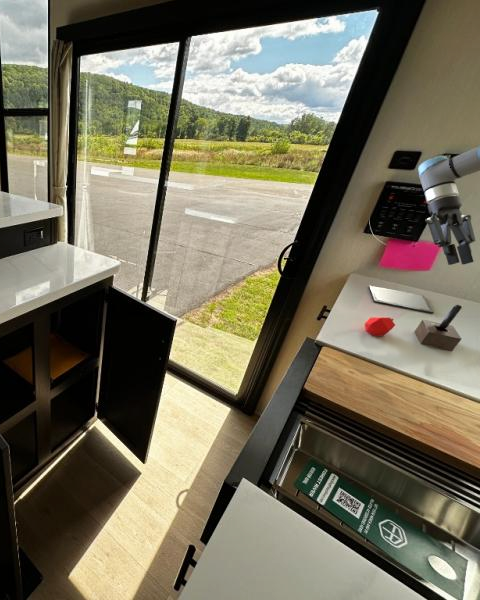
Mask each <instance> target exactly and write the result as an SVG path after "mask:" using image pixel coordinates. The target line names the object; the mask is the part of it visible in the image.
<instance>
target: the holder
mask: <svg viewBox="0 0 480 600" xmlns="http://www.w3.org/2000/svg"><path fill="white" fill-rule="evenodd" d="M441 323H442V322H437V321H431V320H427V319H421V321H420V323H419V324H418V325H417V326H416V329H414V334H415V336H416V338H417V339H418V343H419V344H420V345H424V346H428V347H431V348H436V349H440V350H445V351H449V352H453V351H454V349H455V348H456V347H457V345H458V344H459V343H460V342H461V340H462V337H461V335H460V334H459V332H458V331H457V329H456V328H455V326H454V325H451V324H449V325H448V327H447V328H446V329H445V331H439V330H437V328H438V327H439V326H440V324H441Z"/></svg>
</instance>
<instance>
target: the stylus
mask: <svg viewBox="0 0 480 600" xmlns="http://www.w3.org/2000/svg"><path fill="white" fill-rule="evenodd" d="M462 308H463V306H462V305H460V304H455V305H454V306H453V307H452V308H451V309H450V311H449V312H448V314H447V315H446V316H445V317H444V319H443V320H442V321H441V322H440V323H441V324H440V326H439V327H438V328H437V330H439V331H445V329H446V328H447V327H448V325H451V323H452V322H453V321H454V319H455V317H456V316H457V315H458V314H459V312H460V311H461V310H462Z"/></svg>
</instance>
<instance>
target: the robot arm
mask: <svg viewBox="0 0 480 600" xmlns="http://www.w3.org/2000/svg"><path fill="white" fill-rule="evenodd" d="M449 164H450V165H449ZM450 167H451V168H450ZM417 170H418V175H419V180H420V184H421V187H422V189H423V193H424V196H425V201H426V204H427V209H428V213H429V214H430V215H432V216H429V217H428V218H425V219H424V220H425V223H426V224H427V225H428V229H429V231H430V234H431V237H432V241H433V244H434V245H436V246H437V247H438V248H442V250H443V254H444V255H445V258H446V261H447V265H448V266H450V265H455V264H459V263H461V265H467V264H471V263H474V262H475V261H474V258H473V254H472V251H473V250H472V248H471V244H472V243H474V242H476V237H475V233H474V227H473V225H472V215H471V214H467V215H464V214H463V213H462V212H461V210H460V209H461V207H462V206H463V204H462V201H461V197H460V196H459V195H460V192H459V190H458V186H457V184H456V181H455V180H457V179H461V178H463V177H466V176H469V175H471V174H474V173H477V172H480V145H479V146H477V147H474V148H472V149H470V150H467V151H465V152H462V153H460V154H458V155H455V156H453V157H449V158H448V156H445V155H438V156H436V157H433V158H432V157H431V158H428V159H427V160H425V161H422V163H420V164H419V166H418V169H417ZM452 234H453V236H454V238H455V241H456V242H457V243H458V244H457V246H456V243H452Z"/></svg>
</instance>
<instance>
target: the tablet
mask: <svg viewBox="0 0 480 600" xmlns="http://www.w3.org/2000/svg"><path fill="white" fill-rule="evenodd" d="M368 289H369V290H368V291H369V293H370V295H371V298H372V301H373V303H377V304H382V305H387V306H391V307H397V308H401V309H407V310H411V311H416V312H422V313H427V314H432V315H433V314H434V313H435V312H434V310H433V309H432V307H431V305H430V303H429V302H428V299H426V297H425V295H424V294H418V293H413V292H407V291H401V290H395V289H390V288H385V287H379V286H373V285H368Z"/></svg>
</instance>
